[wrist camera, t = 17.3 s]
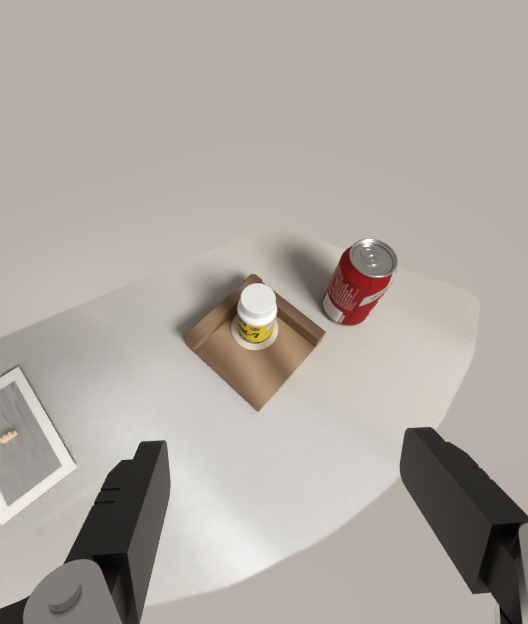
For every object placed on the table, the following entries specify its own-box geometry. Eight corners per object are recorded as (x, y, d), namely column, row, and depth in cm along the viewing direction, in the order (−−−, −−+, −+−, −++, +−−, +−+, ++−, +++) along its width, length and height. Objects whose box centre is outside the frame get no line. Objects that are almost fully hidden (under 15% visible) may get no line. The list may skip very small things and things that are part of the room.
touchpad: (23, 369, 40) (13, 363, 38) (81, 467, 35) (71, 466, 34) (-44, 411, 37) (-59, 407, 35) (8, 524, 33) (-6, 526, 31)
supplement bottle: (230, 332, 42) (227, 300, 35) (251, 307, 44) (253, 272, 37) (259, 352, 41) (263, 324, 34) (279, 326, 43) (287, 294, 36)
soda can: (331, 332, 45) (359, 286, 34) (314, 293, 48) (335, 239, 37) (374, 322, 46) (413, 274, 36) (355, 284, 49) (386, 230, 39)
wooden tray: (258, 412, 39) (259, 406, 36) (186, 344, 43) (182, 334, 40) (321, 340, 44) (326, 330, 41) (252, 286, 48) (253, 272, 45)
